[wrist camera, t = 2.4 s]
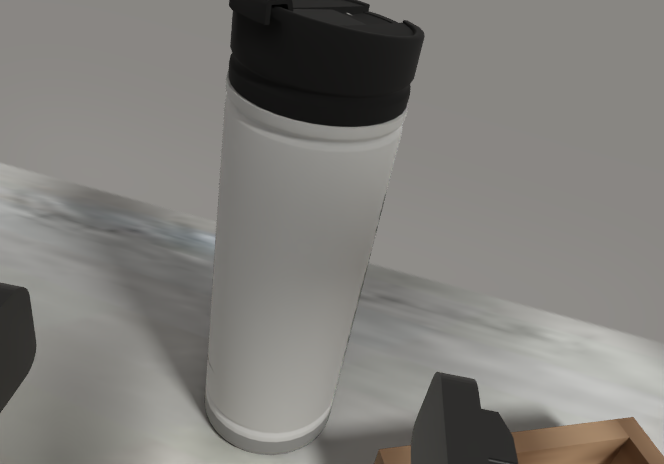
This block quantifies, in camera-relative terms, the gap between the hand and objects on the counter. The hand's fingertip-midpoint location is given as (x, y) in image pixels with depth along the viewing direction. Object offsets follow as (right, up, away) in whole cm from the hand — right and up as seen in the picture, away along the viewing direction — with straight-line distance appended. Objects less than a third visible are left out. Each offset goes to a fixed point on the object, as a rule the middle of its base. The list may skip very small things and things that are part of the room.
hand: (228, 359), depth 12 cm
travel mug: (-1, -6, +18) cm, 19 cm away
